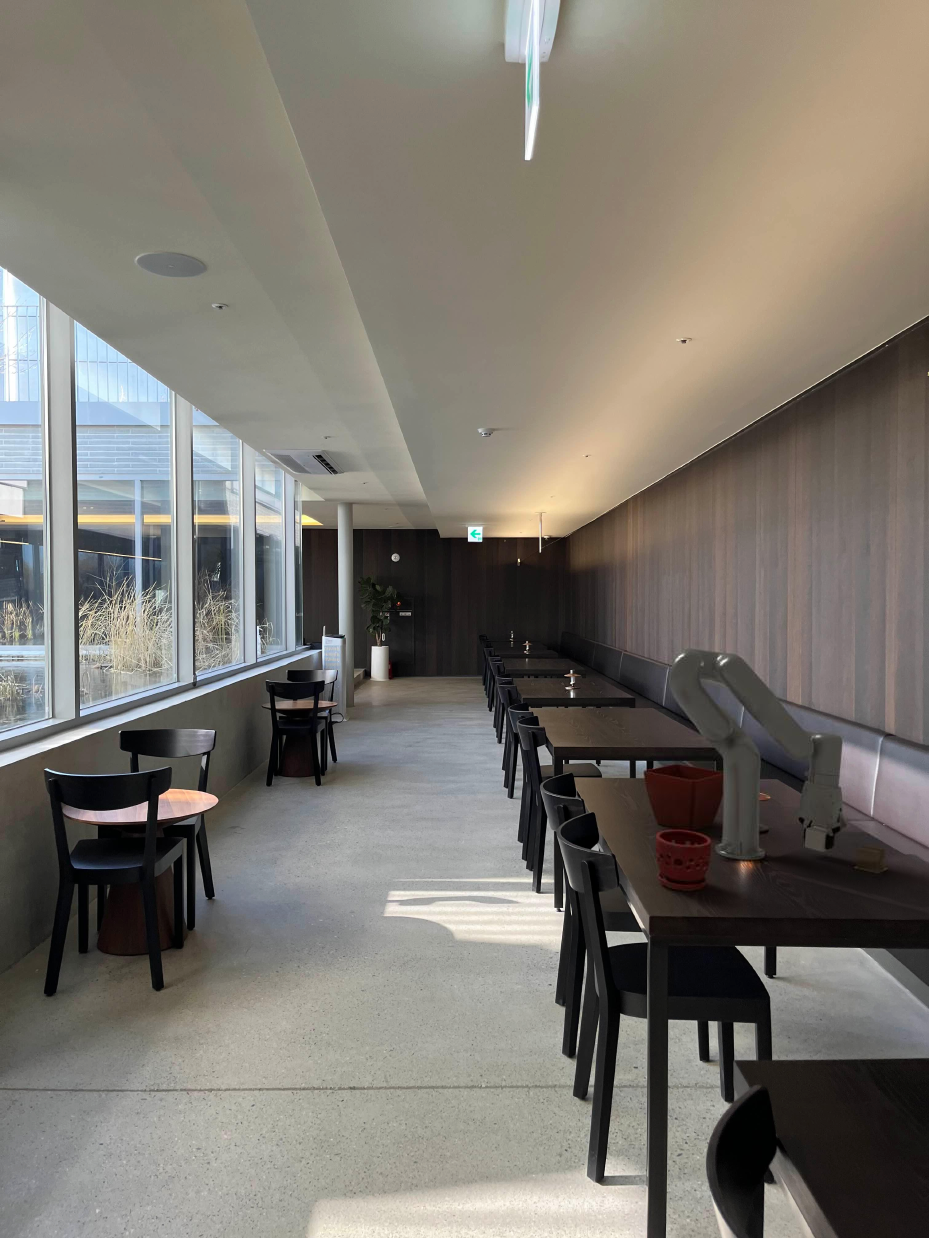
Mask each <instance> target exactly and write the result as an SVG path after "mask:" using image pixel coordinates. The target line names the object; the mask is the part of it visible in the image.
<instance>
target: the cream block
mask: <svg viewBox="0 0 929 1238" xmlns="http://www.w3.org/2000/svg"><path fill="white" fill-rule="evenodd" d="M826 835H828V830H827V828H823V827H819V826H816V825H815V826H811V827H810V828H806V837H805V843H804V847H805V848H806V849H807V848H808V849H811V850H815V851H818V852H820V853H825V852H827V851H830V850H832V849H829V850H826V849H825V842H826Z"/></svg>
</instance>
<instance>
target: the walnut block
mask: <svg viewBox="0 0 929 1238" xmlns="http://www.w3.org/2000/svg"><path fill="white" fill-rule="evenodd" d="M856 866H857V868H856V869H858V868H861V869H860V870H862V869H865V870H864V871H866V870H870V871H869V872H871V871H874V872H873V873H875V872H879V871H881V870H883V869H885V868H886V848H884V847H883V848H882V847H878V846H872V845H870V844H869V845H868V844H863V845H861V846H858V847H857V849H856Z"/></svg>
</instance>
